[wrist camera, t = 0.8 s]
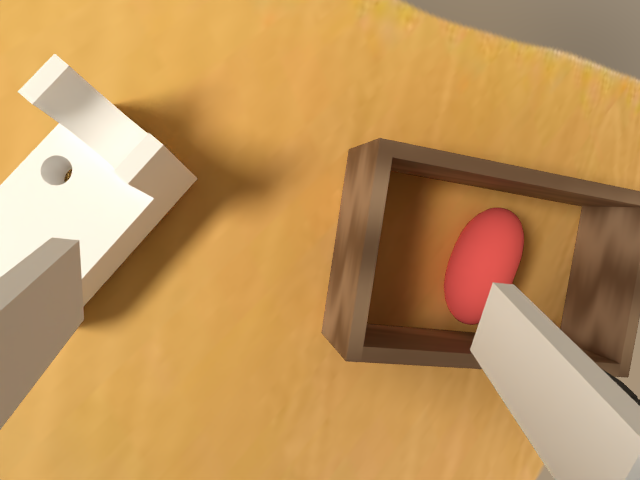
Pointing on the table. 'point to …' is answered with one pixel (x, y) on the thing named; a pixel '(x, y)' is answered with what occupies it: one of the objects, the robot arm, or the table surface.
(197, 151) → the table surface
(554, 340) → the robot arm
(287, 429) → the table surface
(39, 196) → the bracket
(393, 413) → the table surface
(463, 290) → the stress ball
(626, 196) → the walnut box
